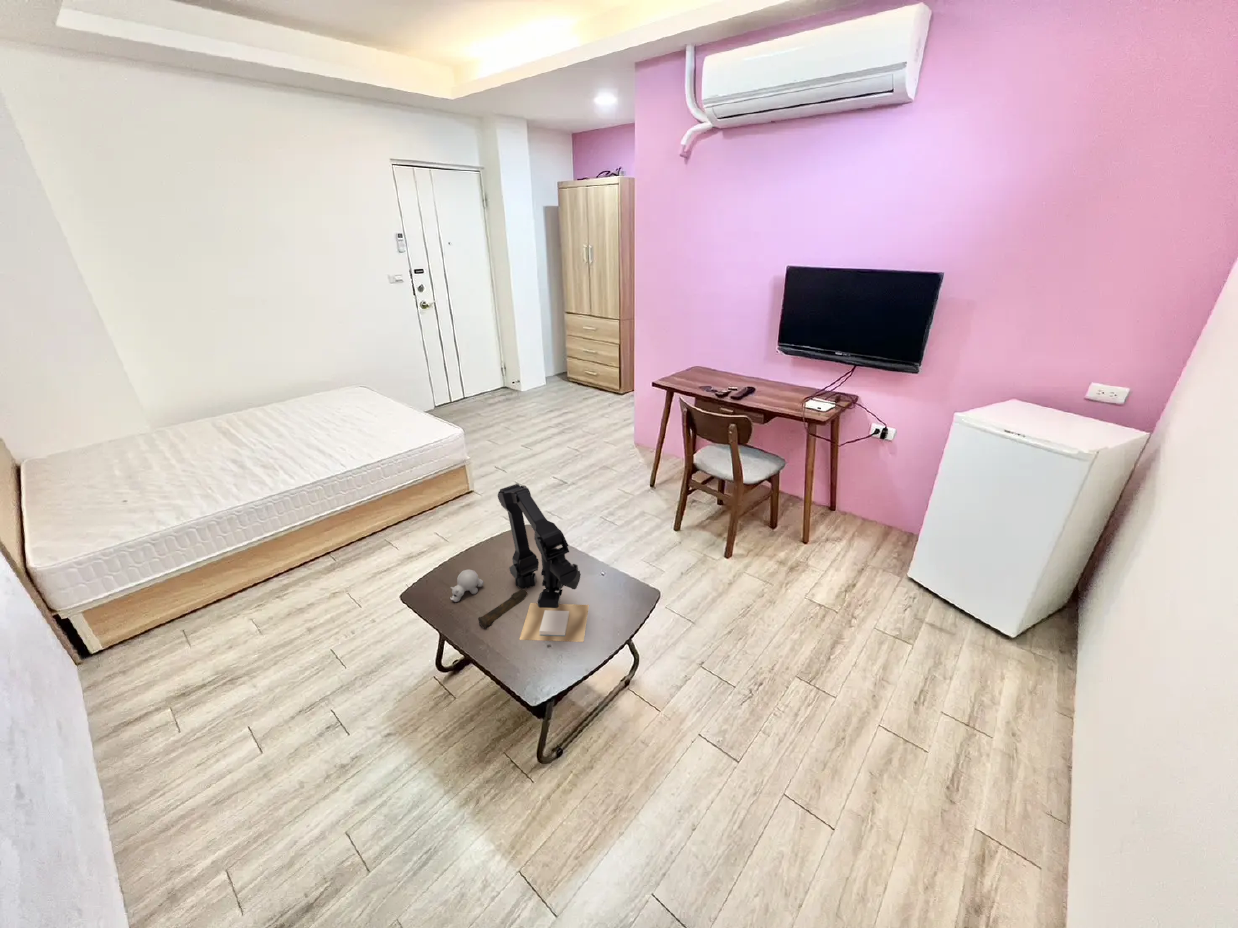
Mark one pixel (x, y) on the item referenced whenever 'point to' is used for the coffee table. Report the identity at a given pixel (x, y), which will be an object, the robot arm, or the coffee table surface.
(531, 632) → the board
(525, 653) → the coffee table surface
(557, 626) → the tile
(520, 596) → the hand tool
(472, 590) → the chubby cartoon animal
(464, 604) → the coffee table surface
